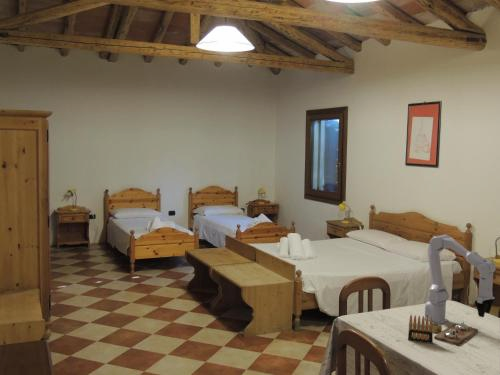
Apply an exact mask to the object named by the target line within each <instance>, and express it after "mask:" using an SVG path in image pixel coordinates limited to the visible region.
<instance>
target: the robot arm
mask: <svg viewBox="0 0 500 375" xmlns="http://www.w3.org/2000/svg"><path fill="white" fill-rule="evenodd" d="M444 249H452V250H453V251H455V252H456V253H458V254H459V255H461V256H463V257H464V258H465V261H466V262H467V263H469V264H470V265H471V266H473V267H475V268H476V270H477V271H478V273H479V281H478V282H479V283H478V284H479V285H478V294H477V299H476V300H474V304H475V307H476V310H477V315H478V317H480V318H484V317H485V315H486V314H490V313H491V309H492V307H493V304H494V302H495V300H496V298H495V296H493V294H494V293H493V287H494V286H493V284H494V283H493V282H494V272H495V271H496V269H497V266H496V263H494V262H493V260H489V259H487V258H485V257H482V256H481V255H480V254H479V252H477V251H469V250H468V249H467V248H466V247H464V246H463V245H461V244H460V243H459V242H458V241H457V240H455V239H454V237H451V236H450V235H449V234H440V235H434V236H433V237H432V238H431V239H430V240H429V246H428V248H427V257H428V264H429V272H430V282H431V286H430V287H429V288H428V290H429V291H428V296H427V297H428V301H427V302H425V306H424V320H425V321H426V318H427V316H428V320H429V322H430V318H431V317H432V320H433V323H437V324H441V325H442V324H445V323H446V322H447V321H448V320H449V318H446V308H447V307H446V306H447V301H448V299H449V294H450V293H449V292H448V290H447V286H446V285H445V284H444V282H443V273H442V265H441V256H440V254H441V252H443V250H444Z"/></svg>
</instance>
